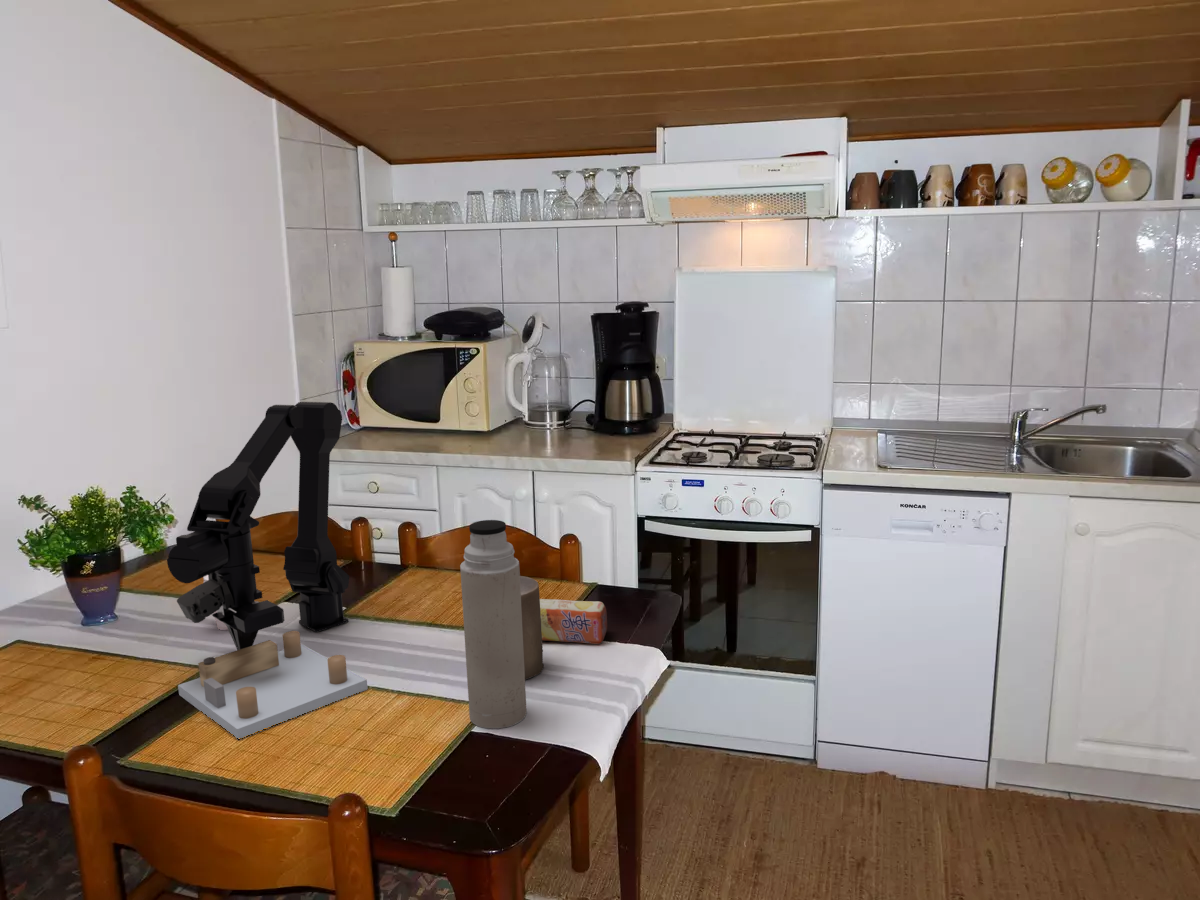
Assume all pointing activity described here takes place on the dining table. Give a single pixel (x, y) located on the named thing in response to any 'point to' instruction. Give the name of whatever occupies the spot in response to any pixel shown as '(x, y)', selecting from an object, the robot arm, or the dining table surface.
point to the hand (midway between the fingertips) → (244, 656)
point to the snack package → (573, 621)
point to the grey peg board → (275, 689)
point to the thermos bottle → (493, 627)
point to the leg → (239, 663)
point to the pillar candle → (531, 627)
